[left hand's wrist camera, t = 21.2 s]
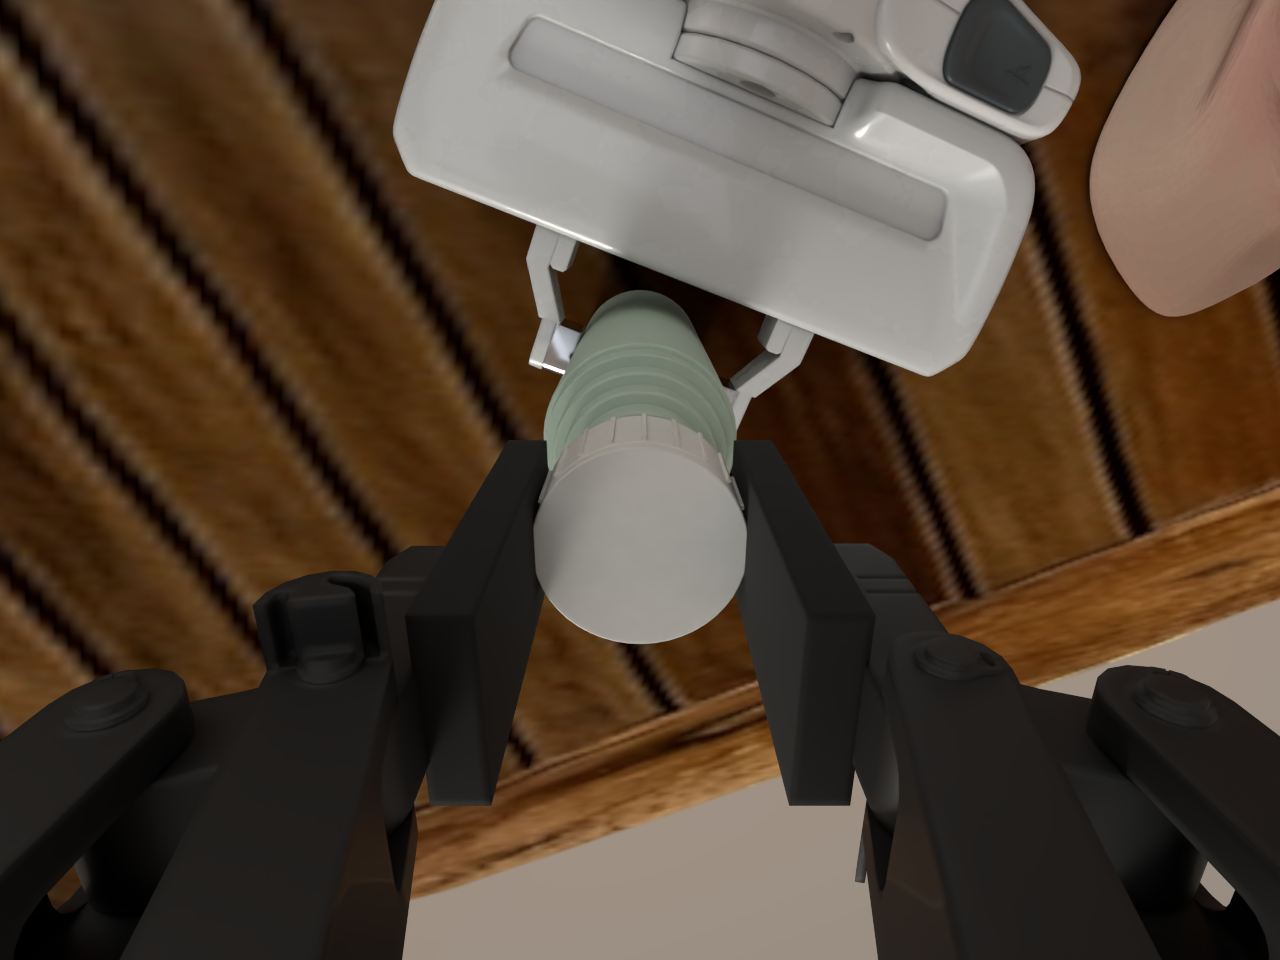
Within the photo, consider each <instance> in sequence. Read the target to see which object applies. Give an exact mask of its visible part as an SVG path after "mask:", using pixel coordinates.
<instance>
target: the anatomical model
mask: <svg viewBox="0 0 1280 960" xmlns="http://www.w3.org/2000/svg"><path fill="white" fill-rule="evenodd" d="M1090 199H1091V205H1092V211H1093V215H1094V218H1095V222H1096V225H1097V229H1098V232H1099V234H1100V236H1101V239H1102V241H1103V243H1104V246H1105V248H1106V250H1107V252H1108V254H1109V256H1110V257H1111V259H1112V261H1113V263H1114V265H1115V266H1116V268H1117V270H1118V271H1119V273H1120V274H1121V276H1122V277H1123V279H1124V280H1125V282H1126V283H1127V285H1128V286H1129V288H1130V289H1131V290H1132V291H1133V292H1134V293H1135V295H1136V296H1137V297H1138V298H1139V299H1140V301H1142V302H1143V303H1144V304H1145V305H1146V306H1147V307H1148V308H1150V309H1151V310H1153V311H1154V312H1156V313H1158V314H1161V315H1164V316H1175V317H1176V316H1183V315H1188V314H1192V313H1195V312H1197V311H1200V310H1202V309H1205V308H1207V307H1210V306H1212V305H1214V304H1216V303H1218V302H1220V301H1222V300H1224V299H1226V298H1228V297H1230V296H1232V295H1234V294H1236V293H1238V292H1240V291H1242V290H1244V289H1246V288H1248V287H1250V286H1252V285H1254V284H1256V283H1257V282H1259V281H1260V280H1262V279H1264V278H1265V277H1267V276H1268V275H1270V274H1271V273H1273V272H1274V271H1276V270H1277V269H1279V268H1280V0H1177V1H1176V3H1175V4H1174V6H1173V7H1172V8H1171V10H1170V11H1169V13H1168V14H1167V16H1166V17H1165V19H1164V20H1163V22H1162V23H1161V25H1160V26H1159V28H1158V30H1157V31H1156V33H1155V34H1154V36H1153V37H1152V39H1151V41H1150V42H1149V44H1148V46H1147V47H1146V49H1145V51H1144V52H1143V54H1142V56H1141V57H1140V59H1139V61H1138V62H1137V64H1136V66H1135V68H1134V69H1133V71H1132V73H1131V74H1130V76H1129V78H1128V80H1127V82H1126V83H1125V85H1124V87H1123V89H1122V91H1121V93H1120V95H1119V96H1118V98H1117V100H1116V102H1115V104H1114V106H1113V108H1112V110H1111V113H1110V115H1109V117H1108V119H1107V121H1106V123H1105V125H1104V127H1103V130H1102V132H1101V135H1100V138H1099V140H1098V143H1097V146H1096V149H1095V152H1094V156H1093V160H1092V165H1091V171H1090Z"/></svg>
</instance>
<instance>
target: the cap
mask: <svg viewBox="0 0 1280 960" xmlns="http://www.w3.org/2000/svg"><path fill="white" fill-rule="evenodd" d="M538 503H540V506H539V509H538V512H537V515H536V518H535V522H534V525H533V530H534V549H535V566H536V575H537V578H538V580H539V582H540V585H541V587H542V589H543V590H544V592H545V594H546V595H547V597H548V598H549V600H550V601H551V602H552V603H553V605H554V606H555V607H556V608H557V609H558V610H559V611H560V612H561V613H562V614H563V615H564V616H565V617H566V618H567V619H569V620H570V621H571V622H573V623H574V624H576V625H577V626H578V627H580V628H582V629H584V630H586V631H588V632H590V633H592V634H594V635H597V636H599V637H602V638H605V639H609V640H613V641H617V642H624V643H634V644H646V643H657V642H663V641H668V640H672V639H675V638H678V637H681V636H684V635H686V634H688V633H690V632H693V631H695V630H696V629H698V628H700V627H701V626H703V625H705V624H706V623H707V622H709V621H710V620H711V619H713V618H714V617H715V616H716V615H717V614H718V613H719V612H720V611H721V610H722V609H723V608H724V607H725V606H726V605H727V604H728V602H729V601H730V600H731V599H732V597H733V596H734V594H735V592H736V591H737V589H738V587H739V585H740V583H741V581H742V578H743V576H744V572H745V556H746V539H747V524H746V521H745V518H744V515H743V512H742V510H744V504H743V501H742V498H741V496H740V493H739V490H738V487H737V485H736V482H735V479H734V477H730V475H729V472H728V470H727V467H726V464H725V461H724V458H723V455H722V454H721V452H719V453H717V451H716V450H715V449H714V448H713V447H712V446H711V445H710V444H709V443H708V442H707V441H706V440H705V439H704V438H703V435H702V433H700V432H698V433H696V432H694V431H692V430H691V429H689V428H688V427H685V426H683V425H681V424H679V423H677V422H676V420H675V419H672V420H671V421H670V420H667V419H664V418H658V417H652V416H646V414H642V416H629V417H622V418H617V419H616V417H612V418H611V420H610V421H607V422H604V423H601V424H599V425H597V426H595V427H593V428H591V429H588V428H586V429H584V432H583V434H582V435H580V436H579V437H578V438H577V439H575V440H574V441H573V442H572V443H571V444H570V445H569V446H568V447H567V448H566V447H565V446H564V448H563V449H562V451H561V454H560V457H559V459H558V461H557V462H556V464H555V466H554V468H553V470H552V471H551V470H549V472H548V474H547V477H546V480H545V483H544V485H543V488H542V491H541V494H540V496H539V499H538Z"/></svg>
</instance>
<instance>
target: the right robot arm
mask: <svg viewBox="0 0 1280 960" xmlns="http://www.w3.org/2000/svg"><path fill="white" fill-rule="evenodd" d="M1080 82H1081V74H1080V69H1079V67H1078V65H1077V62H1076V61H1075V59H1074V58H1073V56H1072V55H1071V54H1070V52H1069V51H1068V50H1067V49H1066V48H1065V46H1064V45H1063V44H1062V43H1061V42H1060V41H1059V40H1058V39H1057V38H1056V37H1055V36H1054V35H1053V34H1052V33H1051V32H1050V30H1049V29H1048V28H1047V27H1046V26H1045V25H1044V24H1043V23H1042V22H1041V21H1040V20H1039V18H1038V17H1037V16H1036V15H1035V14H1034V13H1033V12H1032V11H1031V10H1030V9H1029V7H1028V6H1027V5H1026V4H1025V3H1024V2H1023V1H1022V0H435V2H434V4H433V7H432V9H431V12H430V14H429V17H428V19H427V21H426V24H425V26H424V29H423V32H422V34H421V37H420V40H419V42H418V45H417V48H416V50H415V53H414V56H413V59H412V62H411V65H410V68H409V71H408V75H407V78H406V81H405V84H404V87H403V91H402V94H401V98H400V101H399V104H398V108H397V112H396V116H395V120H394V126H393V135H394V140H395V143H396V145H397V148H398V150H399V153H400V155H401V158H402V160H403V162H404V165H405V167H406V169H407V171H408V172H409V173H410V174H411V175H413V176H415V177H417V178H420V179H422V180H425V181H427V182H430V183H432V184H435V185H438V186H440V187H443V188H445V189H448V190H450V191H453V192H455V193H458V194H461V195H463V196H466V197H468V198H471V199H473V200H476V201H478V202H481V203H484V204H486V205H489V206H491V207H494V208H496V209H499V210H501V211H504V212H507V213H509V214H512V215H514V216H517V217H519V218H522V219H524V220H527V221H530V222H532V223H535V224H537V225H536V228H535V231H534V235H533V238H532V241H531V245H530V248H529V251H528V255H527V258H526V260H527V265H528V269H529V274H530V278H531V283H532V287H533V292H534V296H535V301H536V306H537V310H538V315H539V317H541V318H542V321H541V324H540V327H539V330H538V333H537V337H536V340H535V343H534V346H533V349H532V352H531V355H530V359H529V364H530V365H532V366H534V367H537V368H539V369H543V370H546V371H549V372H552V373H554V374H557V375H560V376H563V374H564V372H565V370H566V368H567V366H568V364H569V362H570V360H571V358H572V356H573V354H574V352H575V350H576V348H577V346H578V344H579V342H580V340H581V338H582V335H583V332H584V329H585V326H583V325H580V324H578V323H575V322H573V321H570V320H568V319H565V313H564V308H563V302H562V297H561V292H560V286H559V281H558V275H557V270H559V271H561V272H563V271H565V270H567V269H568V268H570V267H572V265H573V262H574V259H575V256H576V253H577V250H578V247H579V244H580V241H581V242H583V243H586V244H588V245H591V246H593V247H596V248H598V249H601V250H604V251H606V252H609V253H611V254H614V255H616V256H619V257H621V258H624V259H627V260H629V261H632V262H634V263H637V264H639V265H642V266H644V267H647V268H650V269H652V270H655V271H657V272H660V273H662V274H665V275H667V276H670V277H673V278H675V279H678V280H680V281H683V282H685V283H688V284H690V285H693V286H696V287H698V288H701V289H703V290H706V291H708V292H711V293H713V294H716V295H718V296H721V297H724V298H726V299H729V300H731V301H734V302H736V303H739V304H741V305H744V306H747V307H749V308H752V309H754V310H757V311H759V312H762V313H764V314H766V317H765V319H764V321H763V324H762V326H761V329H760V331H759V334H758V336H757V339H758V341H759V342H760V343H761V344H762V346H763V347H764V348H765V349H766V350H765V351H764V352H762V353H761V354H760V355H759V356H757V357H756V358H755V359H754V360H752V361H751V362H750V363H749V364H748V365H746V366H745V367H744V368H743V369H741V370H740V371H739V372H738V373H737V374H735V375H734V376H733V377H732V378H730V380H727V379H724V378H722V377H719V376H718V378H719V380H720V382H721V384H722V386H723V388H724V390H725V392H726V394H727V396H728V398H729V400H730V403H731V406H732V408H733V412H734V417H735V421H736V431H737V429H738V427H739V424H740V422H741V420H742V418H743V415H744V413H745V411H746V409H747V406H748V404H749V402H750V399H751V397H754V398H755V397H757V396H758V395H759V394H761V393H762V392H763V391H765V390H766V389H767V388H769V387H770V386H772V385H773V384H774V383H776V382H777V381H778V380H780V379H781V378H782V377H784V376H785V375H786V374H788V373H789V372H790V371H792V370H793V369H795V368H796V367H797V366H799V365H800V363H801V361H802V359H803V357H804V355H805V353H806V350H807V348H808V346H809V344H810V342H811V340H812V338H813V335H814V333H816V334H818V335H821V336H823V337H826V338H828V339H831V340H833V341H836V342H839V343H841V344H844V345H846V346H849V347H851V348H854V349H856V350H859V351H862V352H864V353H867V354H869V355H872V356H874V357H877V358H879V359H882V360H884V361H887V362H890V363H892V364H895V365H897V366H900V367H902V368H905V369H908V370H910V371H913V372H915V373H918V374H920V375H923V376H933V375H935V374H937V373H939V372H941V371H943V370H944V369H946V368H948V367H950V366H951V365H953V364H955V363H956V362H958V361H960V360H961V359H962V358H963V357H964V356H965V355H966V354H967V353H968V351H969V350H970V348H971V347H972V345H973V343H974V342H975V340H976V338H977V336H978V335H979V333H980V331H981V329H982V327H983V325H984V323H985V321H986V319H987V317H988V315H989V313H990V311H991V309H992V307H993V305H994V303H995V301H996V299H997V297H998V295H999V293H1000V290H1001V288H1002V286H1003V284H1004V282H1005V279H1006V277H1007V275H1008V272H1009V270H1010V268H1011V266H1012V263H1013V261H1014V258H1015V256H1016V253H1017V251H1018V248H1019V246H1020V243H1021V241H1022V238H1023V236H1024V233H1025V230H1026V228H1027V225H1028V222H1029V218H1030V215H1031V211H1032V207H1033V202H1034V193H1035V180H1034V173H1033V168H1032V165H1031V163H1030V160H1029V158H1028V156H1027V155H1026V153H1025V152H1024V150H1023V149H1022V148H1021V147H1020V145H1021V144H1024V143H1027V142H1031V141H1033V140H1036V139H1038V138H1041V137H1043V136H1046V135H1048V134H1050V133H1051V132H1052V131H1054V130H1055V129H1056V128H1057V127H1058V125H1059V124H1060V123H1061V122H1062V120H1063V119H1064V117H1065V116H1066V114H1067V112H1068V111H1069V109H1070V107H1071V105H1072V102H1073V101H1074V99H1075V97H1076V95H1077V92H1078V90H1079V86H1080Z"/></svg>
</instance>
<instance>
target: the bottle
mask: <svg viewBox="0 0 1280 960" xmlns="http://www.w3.org/2000/svg"><path fill="white" fill-rule="evenodd" d="M642 414H646V416H652V417H658V418H664V419H667V420H670V421H671V420H672V419H675V420H676V422H677V423H679V424H681V425H683V426H685V427H688V428H689V429H691V430H692V431H694V432H696V433H698V432H700V433H702V435H703V438H704V439H705V440H706V441H707V442H708V443H709V444H710V445H711V446H712V447H713V448H714V449H715V450H716V451H717V453H719V452H721V454H722V455H723V458H724V461H725V464H726V467H727V470H728V472H729V474H730V471H731V468H732V464H733V445H734V440H736V435H737V433H736V421H735V417H734V412H733V408H732V406H731V403H730V400H729V398H728V396H727V394H726V392H725V390H724V388H723V386H722V384H721V382H720V380H719V378H718V375H717V373H716V371H715V369H714V367H713V365H712V363H711V361H710V359H709V357H708V355H707V353H706V351H705V349H704V347H703V345H702V343H701V341H700V339H699V337H698V335H697V333H696V331H695V329H694V327H693V325H692V323H691V321H690V319H689V317H688V316H687V314H686V313H685V312H684V310H683V309H682V308H681V307H680V306H679V305H678V304H677V303H675V302H674V301H673V300H671V299H670V298H668V297H666V296H664V295H662V294H659V293H656V292H652V291H646V290H634V291H628V292H624V293H621V294H619V295H616V296H614V297H612V298H611V299H609V300H608V301H606V302H605V303H604V304H602V305H601V306H600V307H599V309H598V310H597V311H596V312H595V313H594V315H593V316H592V318H591V320H590V322H589V323H588V325H587V327H586V329H585V331H584V334H583V336H582V338H581V340H580V342H579V344H578V346H577V348H576V350H575V352H574V354H573V356H572V358H571V360H570V362H569V364H568V366H567V368H566V370H565V372H564V374H563V376H562V378H561V380H560V382H559V384H558V386H557V388H556V390H555V392H554V394H553V396H552V398H551V401H550V404H549V406H548V409H547V413H546V418H545V424H544V440H547V457H548V467H549V470H551V471H552V470H553V468H554V466H555V464H556V462H557V461H558V459H559V457H560V454H561V451H562V449H563V448H564V446H565V447H566V448H567V447H568V446H569V445H570V444H571V443H572V442H573V441H574V440H575V439H577V438H578V437H579V436H580V435H582V434H583V432H584V429H586V428H588V429H591V428H593V427H595V426H597V425H599V424H601V423H604V422H607V421H610V420H611V418H612V417H616V419H617V418H622V417H629V416H642Z"/></svg>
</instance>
